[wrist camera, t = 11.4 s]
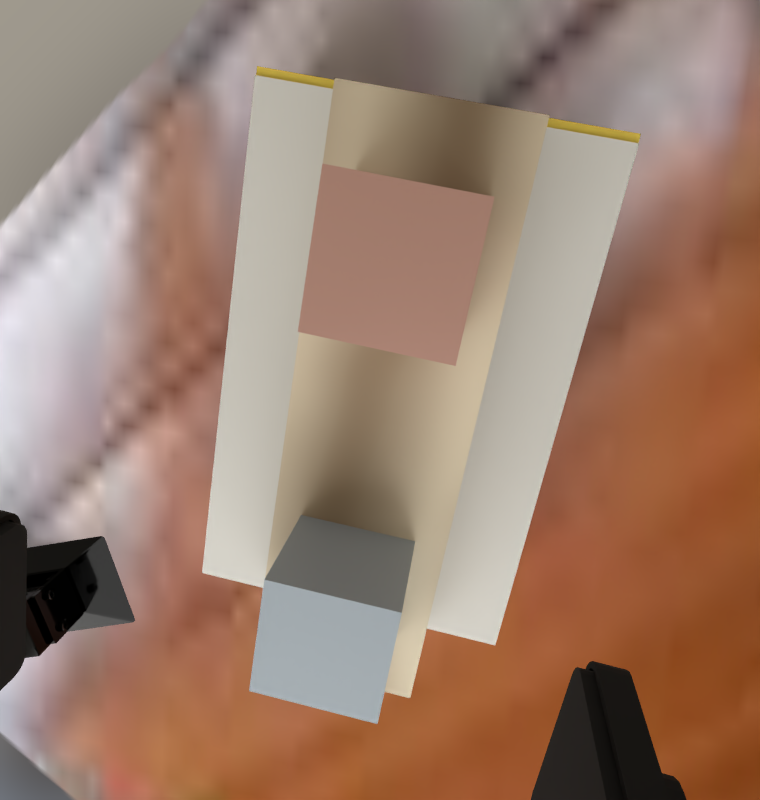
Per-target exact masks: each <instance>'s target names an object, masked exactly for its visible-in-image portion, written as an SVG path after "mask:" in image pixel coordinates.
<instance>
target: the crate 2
mask: <svg viewBox="0 0 760 800" xmlns="http://www.w3.org/2000/svg"><path fill="white" fill-rule="evenodd" d="M414 545H415V541H412V540H407V539H403V538H399V537H394V536H390V535H386V534H381V533H377V532H373V531H368V530H364V529H360V528H356V527H351V526H347V525H343V524H338V523H334V522H330V521H325V520H321V519H317V518H312V517H308V516H304V515H301V516H300V518H299V520H298V521H297V523H296V525H295V527H294V528H293V530H292V532H291V534H290V535H289V537H288V539H287V541H286V542H285V544H284V546H283V548H282V550H281V551H280V553H279V555H278V557H277V558H276V560H275V562H274V564H273V565H272V567H271V569H270V571H269V572H268V574H267V576H266V578H265V579H264V586H263V594H262V601H261V608H260V616H259V623H258V630H257V638H256V645H255V652H254V660H253V667H252V674H251V682H250V689H249V691H252V692H255V693H259V694H263V695H267V696H271V697H275V698H279V699H283V700H286V701H290V702H294V703H298V704H302V705H306V706H310V707H314V708H317V709H321V710H325V711H329V712H333V713H337V714H341V715H345V716H348V717H352V718H356V719H360V720H364V721H368V722H372V723H376V724H377V723H378V719H379V714H380V710H381V705H382V701H383V696H384V692H385V687H386V682H387V678H388V673H389V669H390V664H391V660H392V655H393V651H394V646H395V642H396V637H397V632H398V628H399V623H400V619H401V614H402V609H403V604H404V599H405V593H406V588H407V583H408V577H409V572H410V567H411V561H412V556H413V551H414Z"/></svg>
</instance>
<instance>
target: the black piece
mask: <svg viewBox="0 0 760 800" xmlns="http://www.w3.org/2000/svg"><path fill="white" fill-rule="evenodd" d="M134 621H135V618H134V616H133V613H132V610H131V608H130V605H129V602H128V600H127V597H126V594H125V592H124V589H123V586H122V584H121V581H120V578H119V576H118V573H117V570H116V567H115V565H114V562H113V559H112V557H111V554H110V551H109V549H108V546H107V543H106V541H105V538H104V537H102V536H100V537H93V538H87V539H81V540H74V541H68V542H62V543H55V544H49V545H43V546H37V547H30V548H27V579H26V653H25V658H28V657H36V656H40V655H41V654H42V653H43V652H44V651H45V650H46V648H47V647H48V646H49V645H50V644H54V643H57V642H58V641H59V640H60V639H61V638H62V636H63V635H64V634H65V633H66V632H68V631H75V630H82V629H89V628H96V627H103V626H110V625H117V624H124V623H131V622H134Z"/></svg>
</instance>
